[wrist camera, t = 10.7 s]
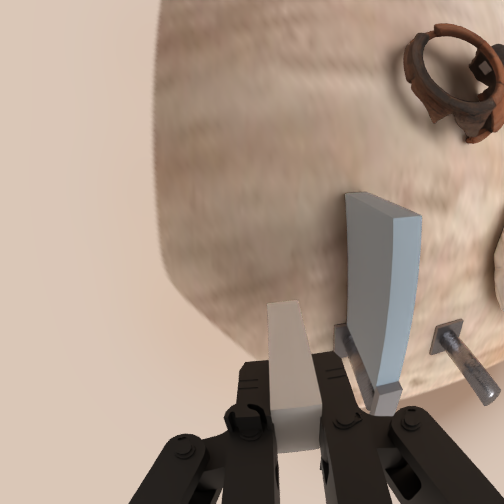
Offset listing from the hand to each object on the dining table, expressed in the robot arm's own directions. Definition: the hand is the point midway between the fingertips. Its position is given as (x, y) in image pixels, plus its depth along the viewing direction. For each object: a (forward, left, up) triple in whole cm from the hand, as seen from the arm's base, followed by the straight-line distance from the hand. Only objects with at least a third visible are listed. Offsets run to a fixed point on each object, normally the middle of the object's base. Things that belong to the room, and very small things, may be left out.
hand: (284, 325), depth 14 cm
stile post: (+11, +17, -8) cm, 22 cm away
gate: (+2, +6, -8) cm, 10 cm away
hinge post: (+8, +6, -8) cm, 13 cm away
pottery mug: (-14, +17, -9) cm, 23 cm away
